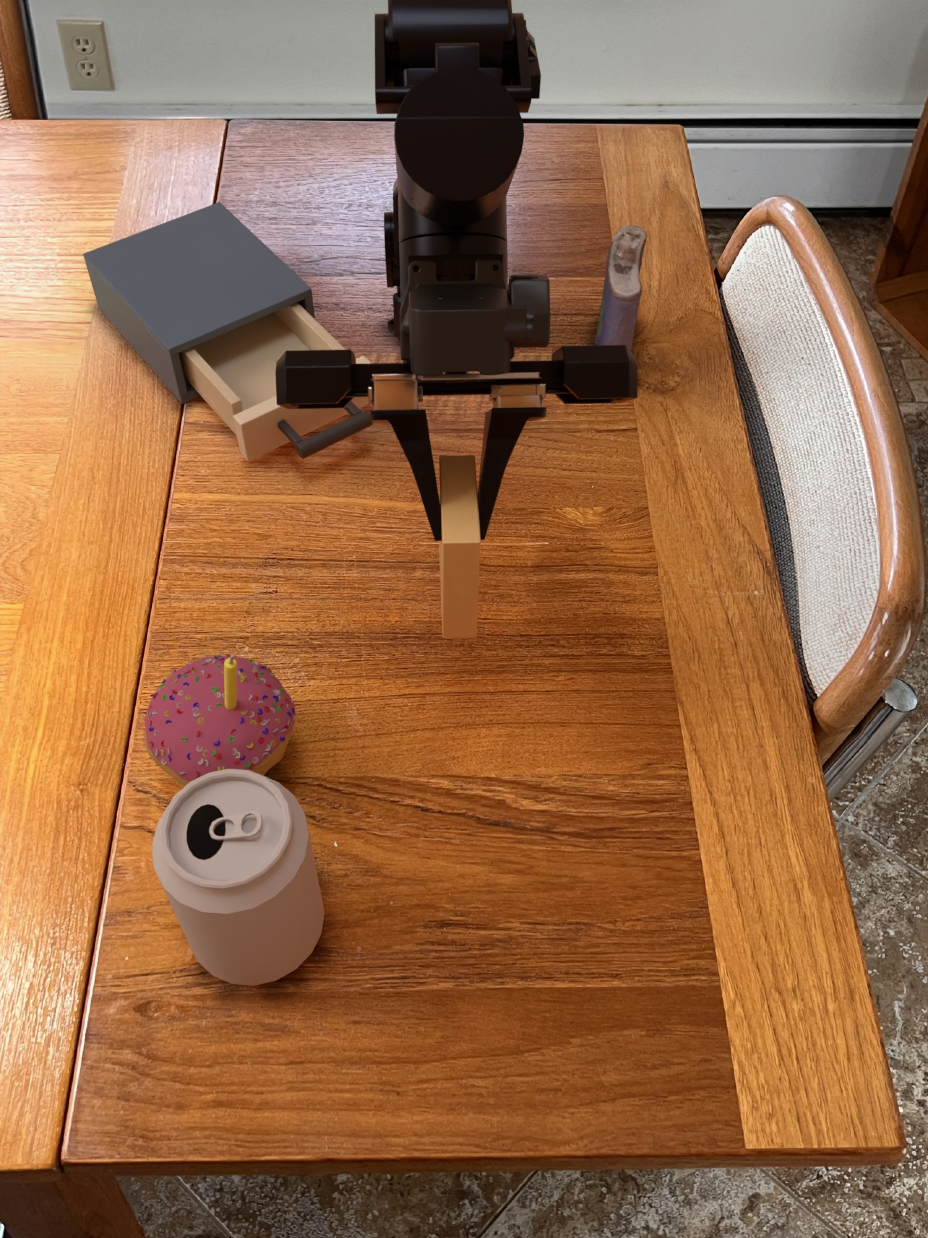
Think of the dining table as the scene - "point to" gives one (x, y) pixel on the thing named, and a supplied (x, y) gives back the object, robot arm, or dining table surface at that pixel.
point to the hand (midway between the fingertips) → (459, 540)
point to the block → (459, 546)
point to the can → (240, 875)
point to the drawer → (268, 384)
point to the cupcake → (218, 718)
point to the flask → (621, 288)
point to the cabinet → (189, 287)
